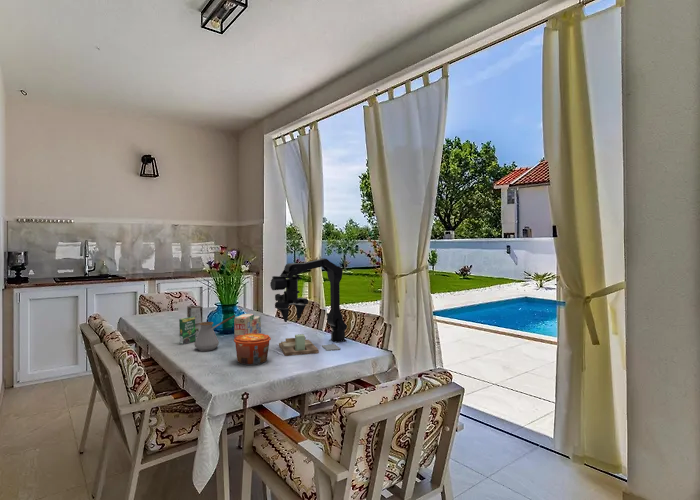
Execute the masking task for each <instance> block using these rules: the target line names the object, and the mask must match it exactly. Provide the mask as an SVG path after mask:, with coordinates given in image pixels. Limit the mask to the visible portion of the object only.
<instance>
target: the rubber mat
mask: <svg viewBox="0 0 700 500" xmlns="http://www.w3.org/2000/svg"><path fill="white" fill-rule="evenodd" d="M321 347H322V348H323V350H325V351H326V352H331V350H332V351H341V348H340V346H338V345H337V344H335V343H334V344H333V343H331V344H322V345H321Z"/></svg>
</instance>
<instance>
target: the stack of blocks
mask: <svg viewBox="0 0 700 500" xmlns="http://www.w3.org/2000/svg"><path fill="white" fill-rule="evenodd" d="M233 318H234V317H233ZM235 318H236V319H235ZM235 318H234V320H233V321H234V322H233V323H234V325H233V326H234V328H233V329H234V331H233V332H234V333H233V334H234V337H233V338H234V339H235V338H236V337H237V336H239V335H245V334H251V333H254V334H257V333H260V334H261V332H262V329H261V328H262V325H261V323H262V320H261V316H259V315H256V316H255V314H254V313H242V314H241V315H239V316H236V317H235ZM234 339H233V340H234Z"/></svg>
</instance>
